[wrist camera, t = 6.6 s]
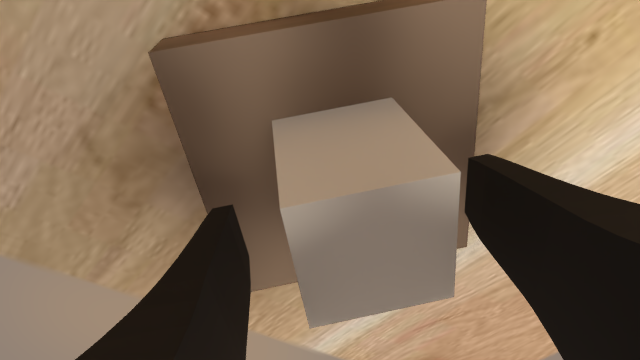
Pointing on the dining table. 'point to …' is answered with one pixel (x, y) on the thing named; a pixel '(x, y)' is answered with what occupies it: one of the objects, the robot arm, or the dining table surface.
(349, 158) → the off-white block
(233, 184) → the walnut plinth
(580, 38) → the dining table surface
